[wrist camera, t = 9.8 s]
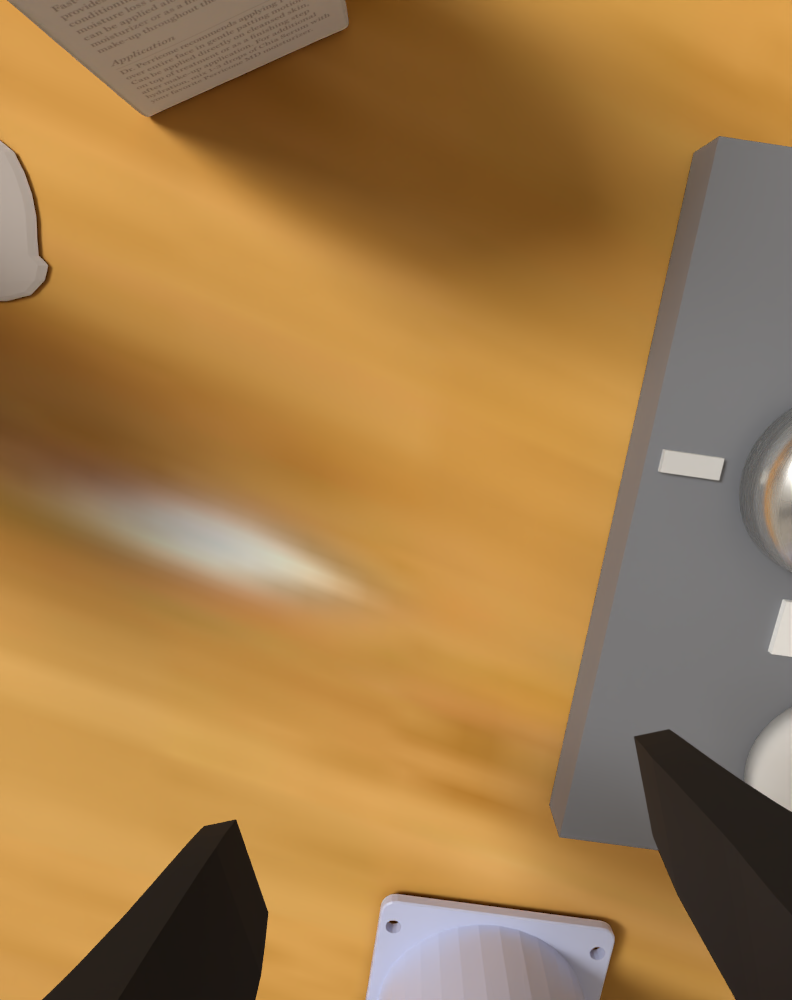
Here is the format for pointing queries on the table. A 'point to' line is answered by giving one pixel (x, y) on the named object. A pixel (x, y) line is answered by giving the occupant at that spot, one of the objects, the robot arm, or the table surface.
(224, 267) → the table surface
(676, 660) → the base
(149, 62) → the skincare box
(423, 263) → the table surface
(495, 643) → the table surface
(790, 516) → the knob
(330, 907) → the table surface
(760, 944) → the robot arm
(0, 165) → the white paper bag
